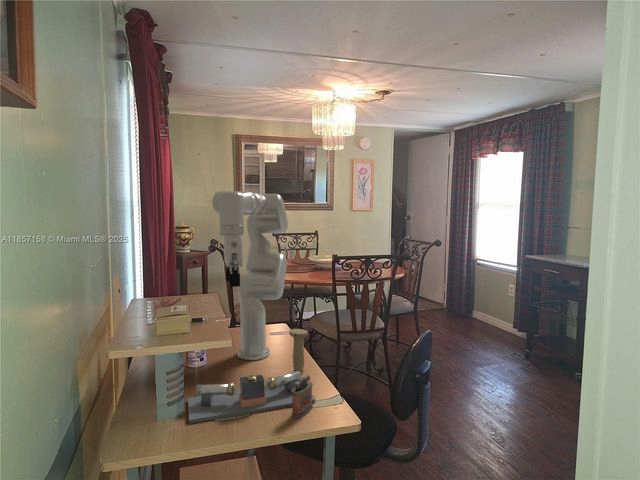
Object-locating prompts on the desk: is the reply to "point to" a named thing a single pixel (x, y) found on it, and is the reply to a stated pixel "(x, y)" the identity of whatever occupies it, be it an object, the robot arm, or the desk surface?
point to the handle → (298, 348)
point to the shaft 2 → (284, 381)
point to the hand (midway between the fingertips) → (232, 283)
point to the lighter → (302, 397)
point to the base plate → (238, 405)
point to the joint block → (252, 387)
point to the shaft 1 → (213, 392)
